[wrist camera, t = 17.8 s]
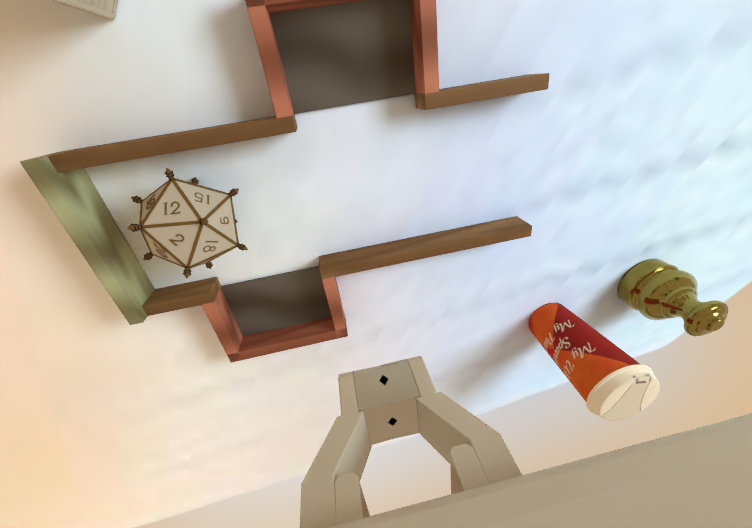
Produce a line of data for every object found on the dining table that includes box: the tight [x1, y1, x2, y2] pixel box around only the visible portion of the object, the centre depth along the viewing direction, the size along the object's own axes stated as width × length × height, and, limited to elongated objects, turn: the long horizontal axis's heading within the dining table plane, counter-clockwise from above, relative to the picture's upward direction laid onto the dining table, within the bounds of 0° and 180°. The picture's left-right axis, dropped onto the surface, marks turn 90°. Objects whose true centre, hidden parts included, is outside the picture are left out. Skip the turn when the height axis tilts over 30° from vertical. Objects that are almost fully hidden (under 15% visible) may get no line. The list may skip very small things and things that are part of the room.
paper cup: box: [529, 303, 660, 421], centre depth 40 cm, size 8×8×14 cm
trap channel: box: [20, 0, 549, 362], centre depth 30 cm, size 32×42×4 cm
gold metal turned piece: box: [619, 259, 728, 336], centre depth 41 cm, size 7×7×10 cm
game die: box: [128, 168, 248, 278], centre depth 27 cm, size 9×8×10 cm
